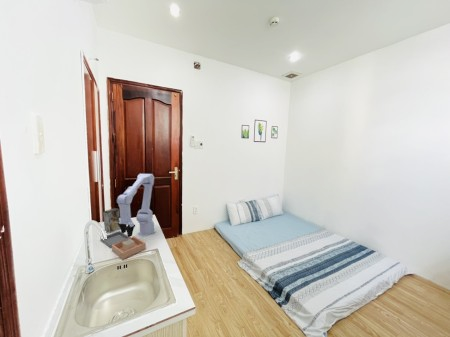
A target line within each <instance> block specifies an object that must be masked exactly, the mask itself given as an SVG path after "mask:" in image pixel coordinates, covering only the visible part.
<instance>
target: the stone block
mask: <svg viewBox="0 0 450 337" xmlns="http://www.w3.org/2000/svg"><path fill="white" fill-rule="evenodd" d="M122 246H123V250H124V251H127V250H129V249H131V248H134V247H135V243H134V241H133V240H131V239H129V240H127V241H124V242H122Z"/></svg>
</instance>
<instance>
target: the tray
mask: <svg viewBox="0 0 450 337" xmlns="http://www.w3.org/2000/svg"><path fill="white" fill-rule="evenodd" d="M106 236H107V239H104V240H103V239H101V237H100V239H99V240H100V242H101V243H103V244H105V245H106V246H107V247H108V248H110V249H112V245H113V244H116V243H118V242H121V241H123V240H126V239H128V238H131V237H132V236H130V237H128V235H127V233H122V232H121V230H117V231H114V232H112V233H109V234H107V235H106Z"/></svg>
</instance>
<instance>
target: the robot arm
mask: <svg viewBox="0 0 450 337" xmlns="http://www.w3.org/2000/svg"><path fill="white" fill-rule="evenodd" d="M154 184H155V176H154V174H153V173H139V174H138V175H137V178H136V181H134V183H133V184H132V186H128V187H127V189H126V190H125V191H124V192H123V193H122V194H120V195H118V196H117V198H116V203H117V204H118V207H119V209H120V218H119V221H120V222H119V223H117V224H118V225H119V227H120V229H119V230H120V231H121V232H122V233H124V234H126V235H128V237H133V232H134V229H135V227H136V224H134V222H133V220H132V212H131V203H132V201H133V198H134V196H135V195H136V194H137V192H138V189H139V188H140V187H141V185H142V186H143V188H144V190H143V196H142V204H141V209H139V210H138V211H137V215H136V217H135V218H136V221H137V222H138V223H139V232H138V233H137V234H138V235H139V236H141V237H143V238H144V237H146V236H149V235H151V234H154V233H156V231H155V221H153V216H154V214H153V211H152V210H151V209H150V208H151V207H150V206H151V199H152V191H153V186H154Z"/></svg>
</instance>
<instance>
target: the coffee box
mask: <svg viewBox="0 0 450 337" xmlns="http://www.w3.org/2000/svg"><path fill="white" fill-rule="evenodd" d="M102 216H103V226H104V232H105V231H106V233H107V234H113V233H115V232H117V231H120V230H121V229H120V227H119V225H118V224H117V223H119V222H120V221H119V218H120V208H116V207H113V208H110V209H108V210H104V211H102Z"/></svg>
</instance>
